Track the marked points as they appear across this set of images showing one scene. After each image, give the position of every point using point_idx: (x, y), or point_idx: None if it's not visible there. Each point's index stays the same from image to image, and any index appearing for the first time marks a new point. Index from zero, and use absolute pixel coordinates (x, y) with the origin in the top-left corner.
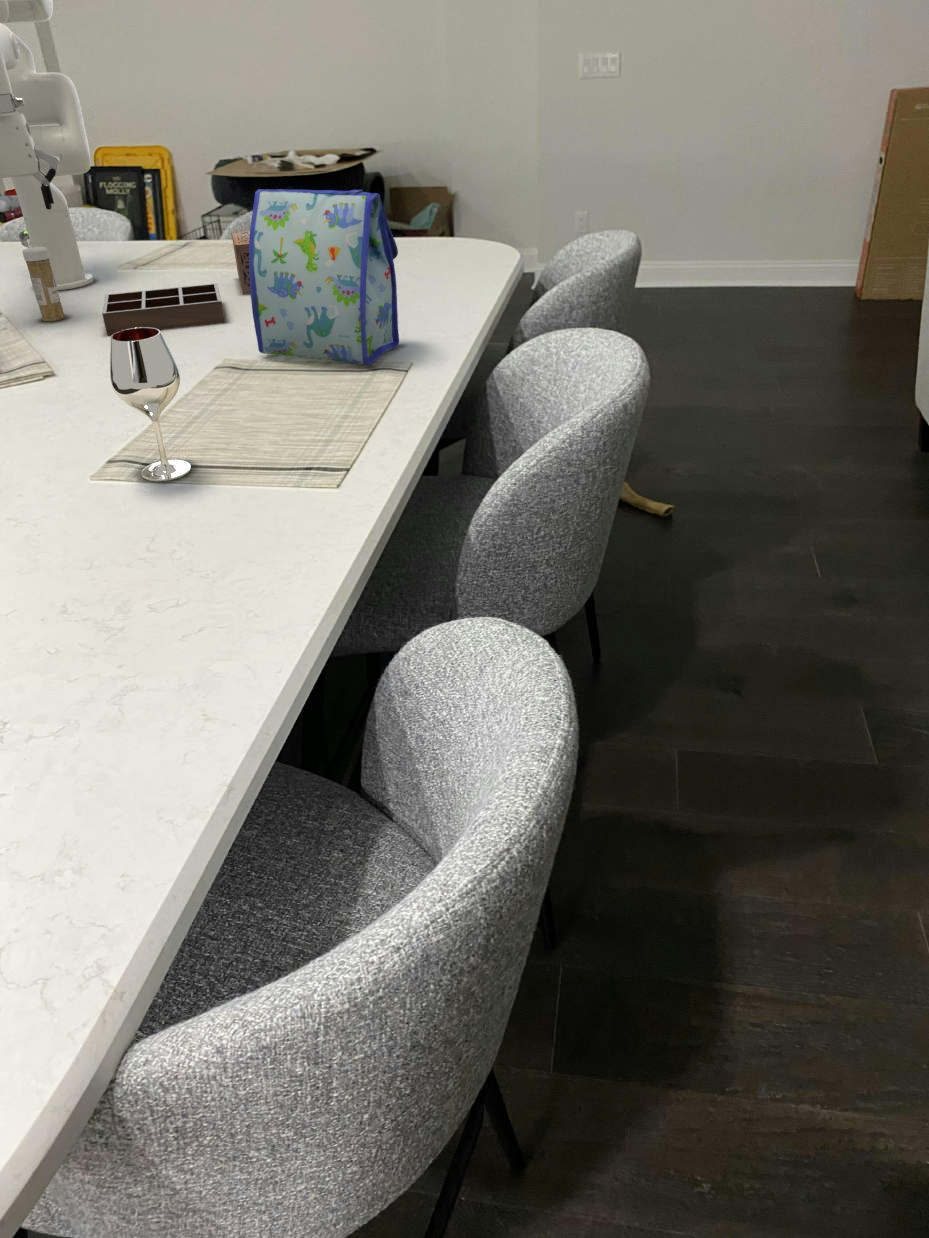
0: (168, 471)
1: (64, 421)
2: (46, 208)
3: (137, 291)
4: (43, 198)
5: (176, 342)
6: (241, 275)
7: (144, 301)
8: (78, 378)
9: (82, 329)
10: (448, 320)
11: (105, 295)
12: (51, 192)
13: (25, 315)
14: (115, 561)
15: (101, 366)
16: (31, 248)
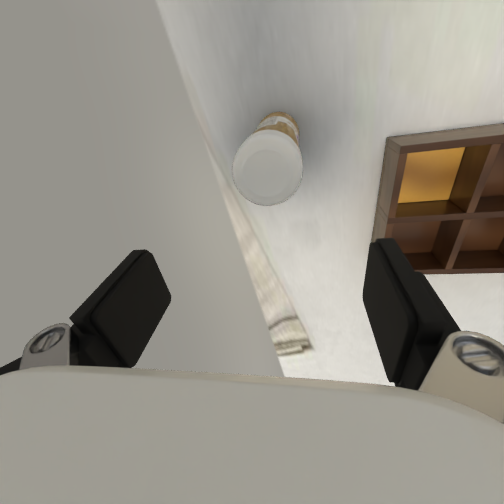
0: None
1: None
2: (364, 298)
3: (481, 141)
4: (374, 333)
5: (452, 304)
6: None
7: (465, 230)
8: (332, 357)
9: (333, 215)
10: None
11: (400, 157)
12: (442, 304)
13: (213, 83)
14: None
15: (354, 341)
16: (255, 164)
